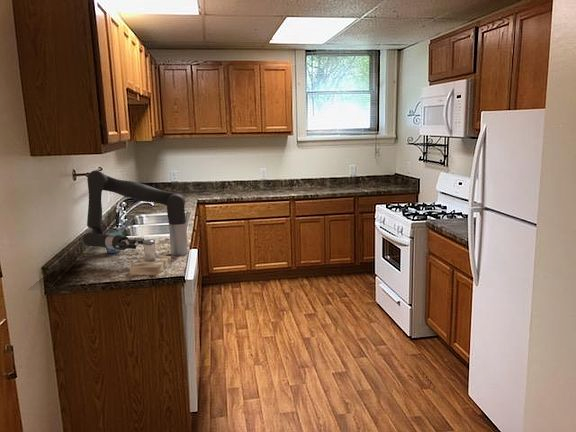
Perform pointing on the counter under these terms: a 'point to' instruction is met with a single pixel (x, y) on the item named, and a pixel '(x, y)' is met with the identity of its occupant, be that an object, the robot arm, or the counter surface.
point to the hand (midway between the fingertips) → (141, 244)
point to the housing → (149, 250)
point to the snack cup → (113, 249)
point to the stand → (150, 266)
